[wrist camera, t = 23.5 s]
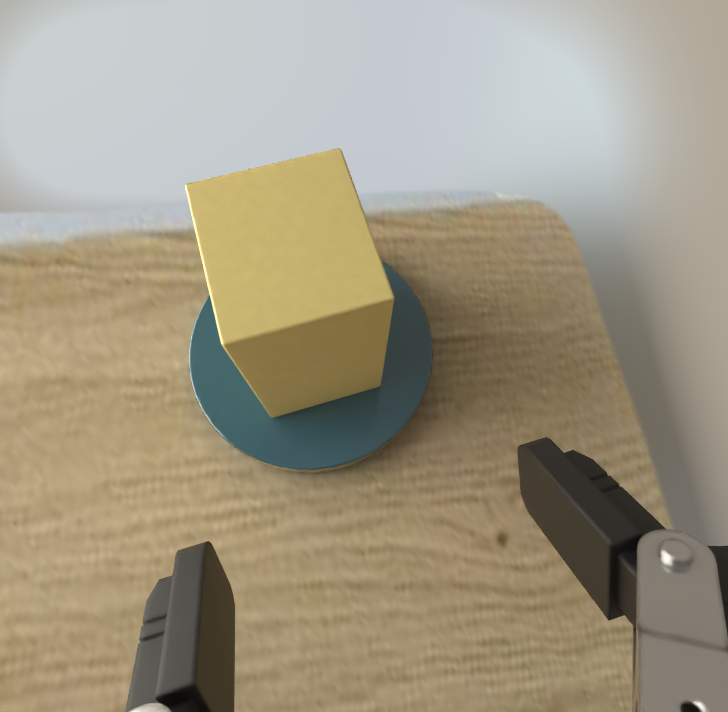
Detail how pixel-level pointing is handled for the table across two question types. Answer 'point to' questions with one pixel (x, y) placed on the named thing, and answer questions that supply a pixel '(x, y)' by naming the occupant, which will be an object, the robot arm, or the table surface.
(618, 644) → the table surface
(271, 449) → the plate
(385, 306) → the butter slice
